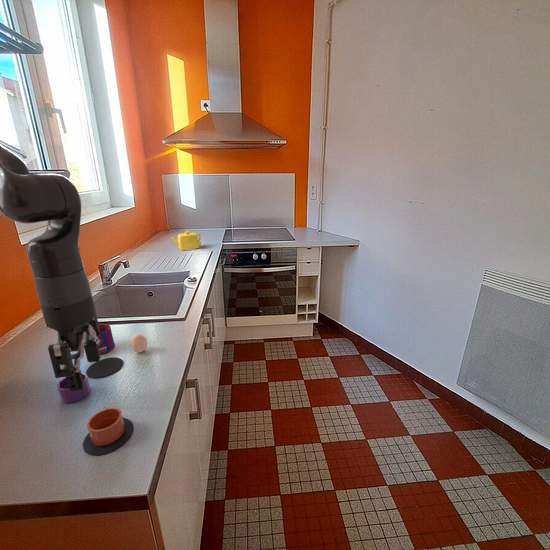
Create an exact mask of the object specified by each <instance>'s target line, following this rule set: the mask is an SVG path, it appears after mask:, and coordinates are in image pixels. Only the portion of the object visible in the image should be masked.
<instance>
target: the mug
mask: <svg viewBox="0 0 550 550" xmlns="http://www.w3.org/2000/svg"><path fill="white" fill-rule="evenodd" d="M98 324H99V327H100V331H101V335H100V336H97V337H98V340H99V341H98V343H97V345H98V349H99V353H100V356H101V355H105V354H108V353H111V351H113V350H114V349H115V347H116V345H115V341H114V337H113V331H112V328H111V325H110V324H108V323H100V322H98ZM92 329H93V330H94V331H95V328H94V327H92Z"/></svg>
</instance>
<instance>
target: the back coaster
mask: <svg viewBox="0 0 550 550" xmlns="http://www.w3.org/2000/svg"><path fill="white" fill-rule="evenodd" d="M123 365H124V361H123V359H122V358H120V357H117V356H116V357H115V356H112V357H106V358H102V359H100V360H99V361H97V362H92V364H90V365H89V366H88V367H87V369H86V370H85V374H86V375H87V378H91V379H102V378H103V379H104V378H106V377H109V376H111V375H113V374H115V373H117V372H119V370H121V369H122V367H123Z"/></svg>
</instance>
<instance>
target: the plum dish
mask: <svg viewBox="0 0 550 550" xmlns="http://www.w3.org/2000/svg"><path fill="white" fill-rule="evenodd" d="M81 373H82V377H83V381H84V385H85V386H84V387H83V389H82V390H76V391H71V390H69V386H68V383H67V380H66V377H62V379H61V380H60V381H58V383H57V384H56V388H57V392H58V395H59V398H60V401H62V402H63V403H67V404H68V403H69V404H70V403H75V402H78V401H80V400H82V399H84V398H86V397H87V395H88V394H89V393H90V392H91V385H90V382H89V377H88V376H87V375H86V373H84V372H81Z"/></svg>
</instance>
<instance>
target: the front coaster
mask: <svg viewBox="0 0 550 550" xmlns="http://www.w3.org/2000/svg"><path fill="white" fill-rule="evenodd" d="M123 420H124V424H125V430H124V433H123V434H122V435H121V436H120V438H118V439H117V440H116V441H114V442H113V443H111V444H108V445H104V446H97V445H94V444H93V443H92V441H91V438H90V434H89V432H88V433H87V434H86V436H85V438H84V439H83V442H82V448H83V450H84V452H85V453H86V454H88V455H89V456H95V457H98V456H104V455H108V454H110V453H112V452H115V451H117V450H119V449H120V448H121V447H122V446H124V445H125V444H126V443H127V442H128V441H129V440H130V438H131V437H132V435H133V433H134V424H133V421H131V419H129V418H126V417H123Z"/></svg>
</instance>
